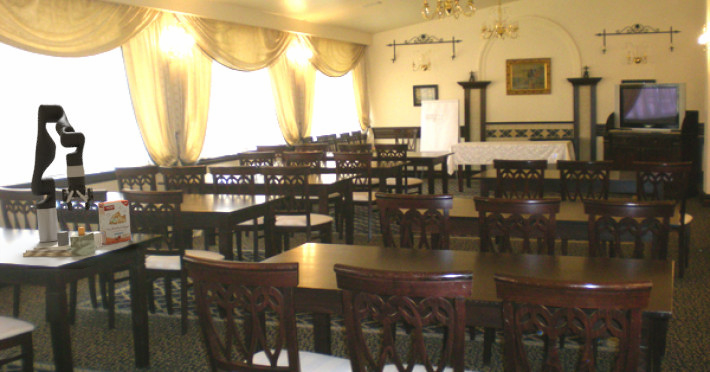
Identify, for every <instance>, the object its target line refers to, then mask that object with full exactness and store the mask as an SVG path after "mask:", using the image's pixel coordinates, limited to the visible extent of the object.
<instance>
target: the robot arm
mask: <svg viewBox="0 0 710 372" xmlns="http://www.w3.org/2000/svg"><path fill="white" fill-rule="evenodd" d="M37 108H38V109H37V110H38V111H37V134H36V135H37V136H36V144H35V150H34V151H35V152H34V165H33V173H32V177H31V182H30V191H31V193H32V195H34V196H35V197H39V196H46V197H45V198H44V199H43V200H40V201H39V202H37V203H36V215H37V216H36V217H37V224H38V225H37V226H38V227H37V228H38V236H39V237H38V238H39V242H40V243H51V242H56V241H58V240H57V233H59V232H60V224H59V221H58V213H57V193H56V187H57V186H56V182H55V179H54V178H53V177H52V176H45V177H44V174H45V172H46V171H47V169H48V168H49V167H50V166H51V165H52V163H53V162H54V160H55V159H56V154H57V144H56V142H55V140H54V139H53V138H52V136H51V135H50V133H49V131H48V129H47V124H55V131H56V133H57V134H58V135H59V141H60V145H61V146H62V147H63V148H66V149H68V148H75V150H74V151H72V152H70V153H67V154H66V155H65V162H66V179H67V187H68V188H66V187H65V188H62V189H61V196H62V202H65V203H66V204H67V210H68V212H71V211H73V210H74V209H73V208H74V207H73V202H72V201H73V200H74V199H75V198H81V199H82V200H83V201H84V208H85V211H89V210H90V209H91V201H95V200H94V199H95V198H94V191H93V187H86V175H85V167H84V158H83V156H84V148H85V144H86V136H85V135H84V133H83V132H81V131H76V130H75V129H74V127H73V125H72V124H71V123H70V122H69V120H68V116H67V114H66V112H65V110H64V107H63V106H62V105H60V104H58V103H41V104H39V107H37ZM68 193H69V195H68Z"/></svg>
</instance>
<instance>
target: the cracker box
mask: <svg viewBox="0 0 710 372" xmlns="http://www.w3.org/2000/svg"><path fill="white" fill-rule="evenodd" d="M97 206H98V208H97V209H98V210H97V211H98V223H99V232H101V245H106V246H107V245H112V244H117V243H123V242H128V240H129V241H131V240H132V237H131V236H132V235H131V234H132V233H131V220H130V207H129V206H130V203H129V200H127V199H118V200H112V201H111V200H110V201H104V202H98V203H97Z"/></svg>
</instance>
